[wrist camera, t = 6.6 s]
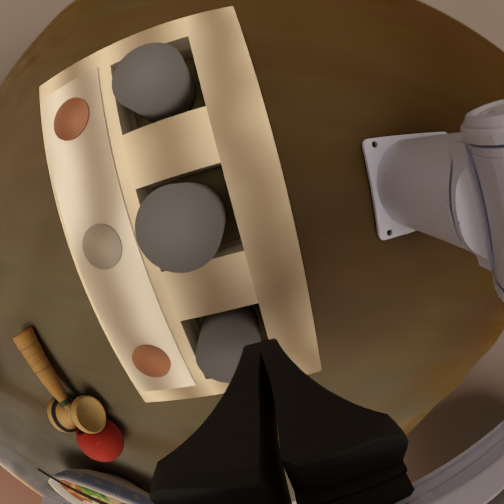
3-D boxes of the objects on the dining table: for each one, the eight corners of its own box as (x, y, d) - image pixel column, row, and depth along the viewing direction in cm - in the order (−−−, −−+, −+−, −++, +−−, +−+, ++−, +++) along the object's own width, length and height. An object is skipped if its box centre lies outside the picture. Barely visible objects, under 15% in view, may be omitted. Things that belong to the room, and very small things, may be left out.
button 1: (189, 60, 16) (177, 33, 11) (201, 112, 17) (191, 93, 13) (132, 80, 16) (108, 60, 11) (142, 131, 17) (117, 120, 13)
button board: (233, 29, 16) (232, 2, 12) (311, 346, 23) (322, 373, 19) (62, 95, 16) (36, 85, 12) (154, 377, 23) (144, 405, 19)
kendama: (20, 334, 23) (100, 446, 25) (-9, 350, 17) (87, 475, 19) (56, 311, 24) (141, 435, 26) (25, 327, 18) (133, 468, 20)
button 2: (216, 173, 17) (208, 172, 12) (234, 240, 18) (233, 260, 13) (151, 193, 17) (124, 199, 12) (170, 256, 18) (151, 281, 14)
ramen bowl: (59, 469, 31) (48, 496, 23) (52, 423, 26) (31, 459, 18) (169, 514, 35) (165, 542, 27) (204, 486, 30) (202, 527, 22)
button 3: (250, 293, 21) (254, 323, 16) (264, 340, 22) (269, 375, 17) (195, 306, 21) (185, 338, 16) (212, 351, 22) (208, 387, 17)
